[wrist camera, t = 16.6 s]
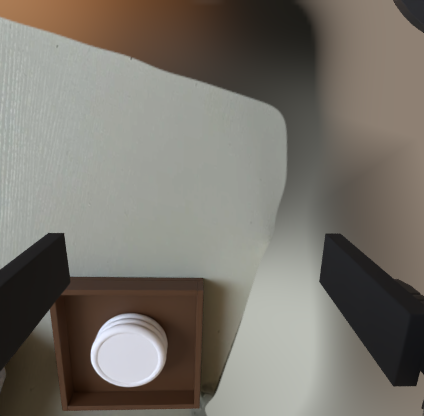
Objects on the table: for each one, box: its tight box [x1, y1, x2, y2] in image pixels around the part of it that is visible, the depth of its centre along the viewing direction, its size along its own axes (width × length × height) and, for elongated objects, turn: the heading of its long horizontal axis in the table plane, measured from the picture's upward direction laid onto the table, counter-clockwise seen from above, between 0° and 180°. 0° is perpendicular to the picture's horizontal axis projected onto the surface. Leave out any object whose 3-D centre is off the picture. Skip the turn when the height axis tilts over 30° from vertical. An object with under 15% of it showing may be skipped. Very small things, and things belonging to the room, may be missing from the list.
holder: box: [50, 277, 203, 411], centre depth 43 cm, size 20×20×3 cm
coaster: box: [91, 313, 168, 387], centre depth 42 cm, size 10×10×4 cm
